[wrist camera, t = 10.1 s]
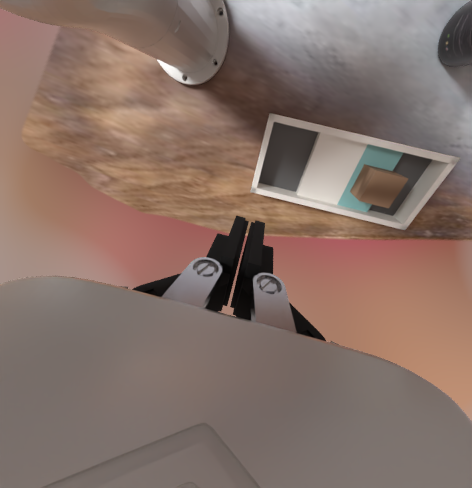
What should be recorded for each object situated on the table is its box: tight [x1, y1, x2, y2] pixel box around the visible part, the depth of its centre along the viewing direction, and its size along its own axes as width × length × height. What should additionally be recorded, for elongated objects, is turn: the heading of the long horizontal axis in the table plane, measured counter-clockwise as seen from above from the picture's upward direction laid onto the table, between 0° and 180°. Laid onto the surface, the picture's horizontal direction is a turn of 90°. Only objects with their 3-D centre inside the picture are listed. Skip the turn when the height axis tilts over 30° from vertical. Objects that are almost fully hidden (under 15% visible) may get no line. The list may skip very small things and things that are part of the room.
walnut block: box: [350, 164, 408, 208], centre depth 34 cm, size 5×5×5 cm
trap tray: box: [250, 113, 460, 230], centre depth 37 cm, size 13×30×4 cm, turn 79°
